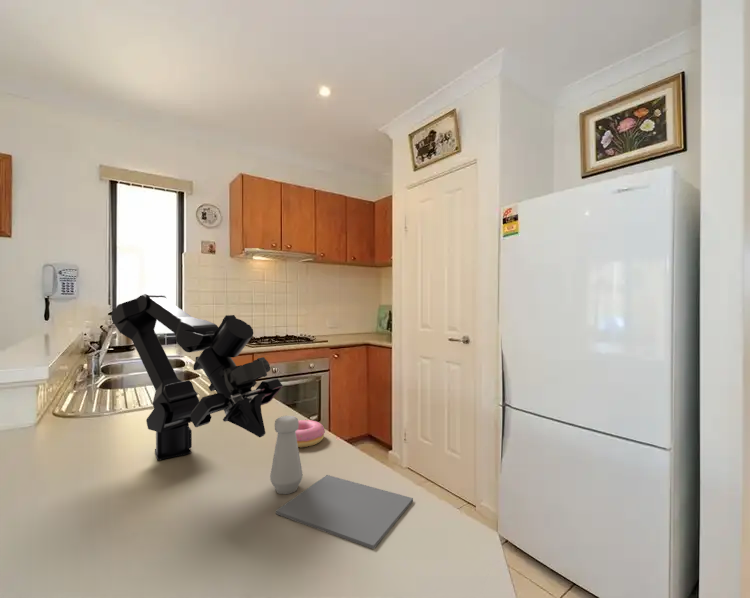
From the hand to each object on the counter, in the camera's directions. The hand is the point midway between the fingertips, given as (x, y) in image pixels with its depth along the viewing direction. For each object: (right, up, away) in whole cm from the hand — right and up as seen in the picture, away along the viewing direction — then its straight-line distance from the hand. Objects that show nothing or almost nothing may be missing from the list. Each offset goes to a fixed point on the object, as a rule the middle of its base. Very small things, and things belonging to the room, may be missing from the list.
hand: (262, 435), depth 72 cm
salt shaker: (+5, -9, -3) cm, 11 cm away
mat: (+17, -9, -9) cm, 21 cm away
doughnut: (+4, -9, +20) cm, 23 cm away
